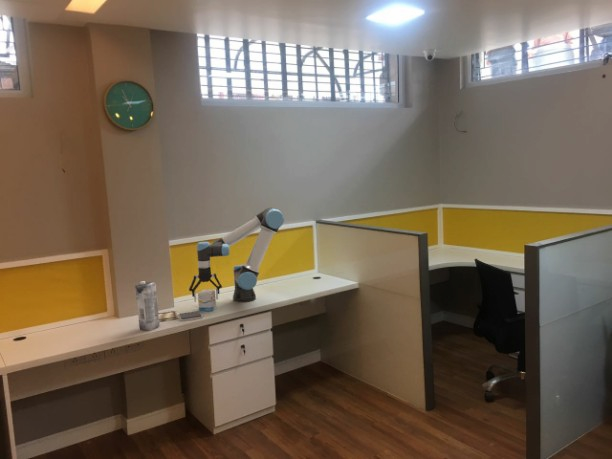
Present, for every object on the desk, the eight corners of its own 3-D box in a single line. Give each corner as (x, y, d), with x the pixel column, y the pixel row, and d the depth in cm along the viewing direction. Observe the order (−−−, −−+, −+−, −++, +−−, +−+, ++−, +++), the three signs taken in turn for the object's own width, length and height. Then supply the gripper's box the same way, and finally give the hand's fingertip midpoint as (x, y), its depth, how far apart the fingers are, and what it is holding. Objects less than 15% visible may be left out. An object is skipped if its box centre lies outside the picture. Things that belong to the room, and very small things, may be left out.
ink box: (211, 311, 329) (210, 293, 327) (198, 311, 331) (197, 293, 329) (216, 307, 337) (215, 289, 336) (204, 307, 339) (202, 289, 338)
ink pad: (200, 312, 328) (199, 310, 328) (202, 317, 316) (202, 315, 316) (178, 315, 324) (178, 313, 323) (180, 321, 312) (180, 318, 312)
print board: (176, 312, 331) (176, 310, 330) (178, 319, 316) (178, 317, 316) (149, 316, 326) (149, 314, 325) (150, 323, 311) (150, 320, 311)
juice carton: (162, 325, 305) (157, 279, 301) (149, 331, 296) (145, 284, 292) (149, 324, 309) (145, 278, 305) (137, 330, 299) (132, 283, 296)
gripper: (223, 264, 338) (225, 296, 341) (183, 267, 330) (185, 301, 333) (225, 266, 331) (227, 299, 334) (184, 270, 323) (186, 304, 326)
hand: (206, 300), depth 333 cm, fingers open, 13 cm apart
